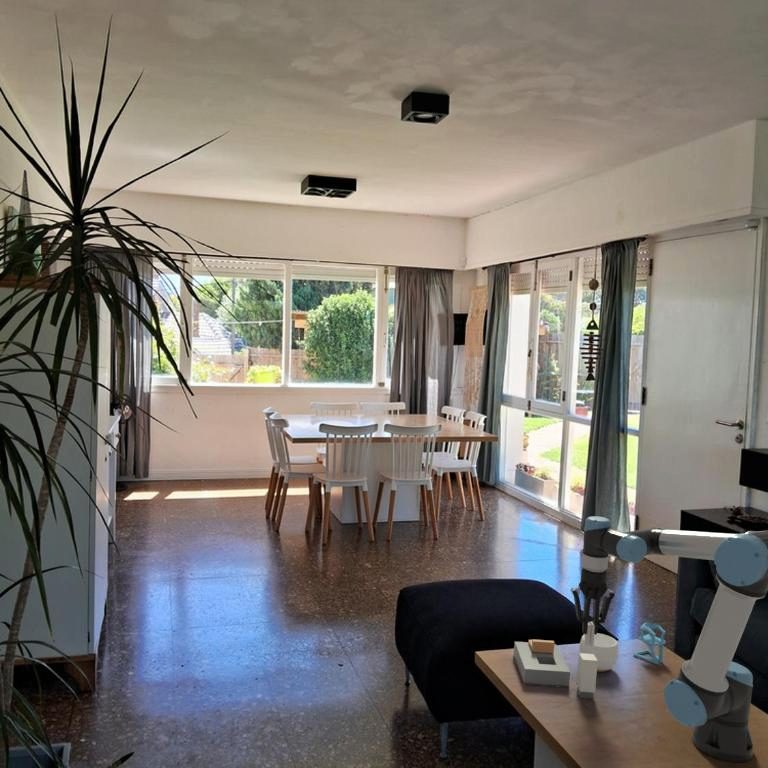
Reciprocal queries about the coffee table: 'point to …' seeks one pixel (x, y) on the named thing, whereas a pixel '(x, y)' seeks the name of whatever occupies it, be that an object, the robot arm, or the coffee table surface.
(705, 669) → the robot arm
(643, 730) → the coffee table surface
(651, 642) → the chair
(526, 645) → the socket plate
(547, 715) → the coffee table surface
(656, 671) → the coffee table surface
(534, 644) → the block
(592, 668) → the white rectangular block
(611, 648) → the cup
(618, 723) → the coffee table surface
